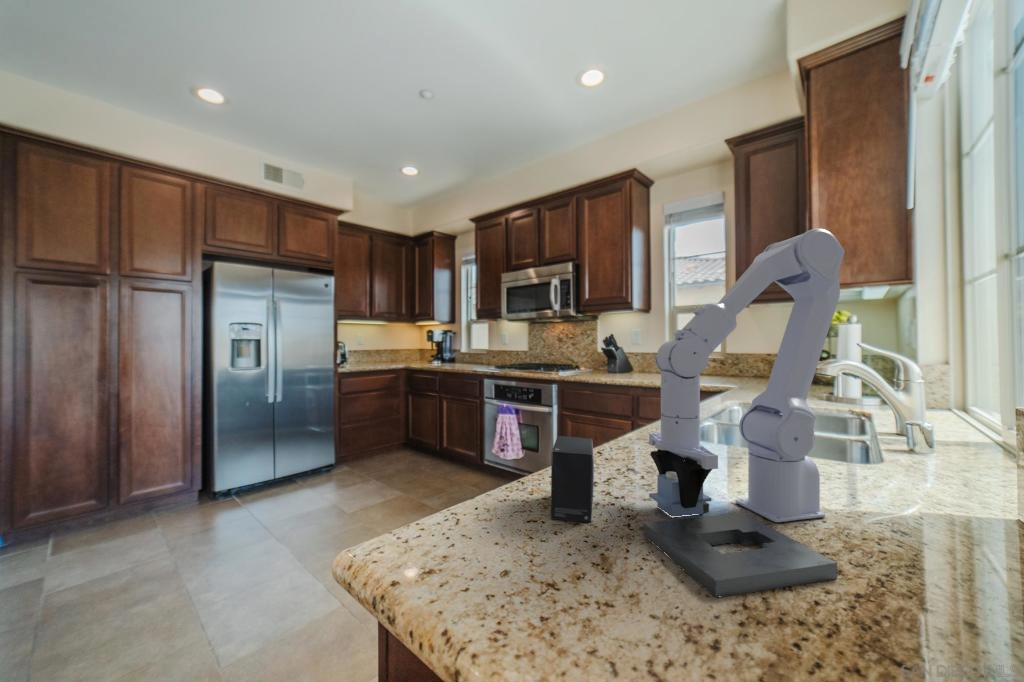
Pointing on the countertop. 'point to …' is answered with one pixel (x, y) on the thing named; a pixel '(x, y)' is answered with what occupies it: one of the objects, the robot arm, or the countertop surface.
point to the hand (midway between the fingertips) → (679, 501)
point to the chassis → (738, 554)
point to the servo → (676, 497)
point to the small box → (572, 479)
